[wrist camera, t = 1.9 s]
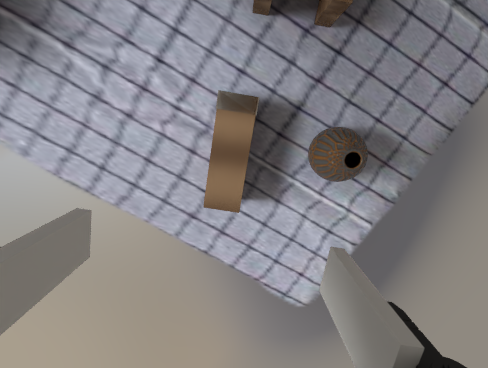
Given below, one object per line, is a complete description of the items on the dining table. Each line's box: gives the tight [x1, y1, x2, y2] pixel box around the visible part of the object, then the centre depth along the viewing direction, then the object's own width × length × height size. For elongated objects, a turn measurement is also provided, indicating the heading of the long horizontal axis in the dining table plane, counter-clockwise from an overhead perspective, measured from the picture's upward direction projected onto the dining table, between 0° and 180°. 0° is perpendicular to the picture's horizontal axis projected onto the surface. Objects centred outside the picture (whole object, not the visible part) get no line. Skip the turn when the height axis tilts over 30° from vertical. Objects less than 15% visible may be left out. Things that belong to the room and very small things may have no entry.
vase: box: [308, 127, 368, 182], centre depth 33 cm, size 7×7×9 cm
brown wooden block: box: [204, 90, 259, 213], centre depth 34 cm, size 14×5×6 cm, turn 171°
